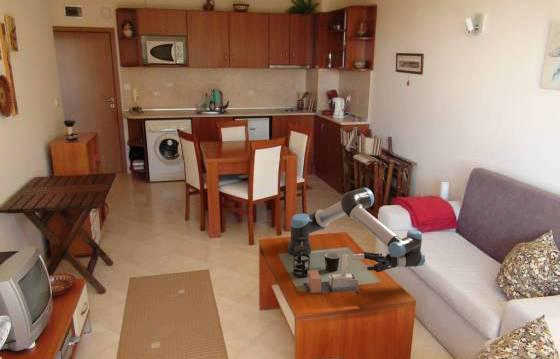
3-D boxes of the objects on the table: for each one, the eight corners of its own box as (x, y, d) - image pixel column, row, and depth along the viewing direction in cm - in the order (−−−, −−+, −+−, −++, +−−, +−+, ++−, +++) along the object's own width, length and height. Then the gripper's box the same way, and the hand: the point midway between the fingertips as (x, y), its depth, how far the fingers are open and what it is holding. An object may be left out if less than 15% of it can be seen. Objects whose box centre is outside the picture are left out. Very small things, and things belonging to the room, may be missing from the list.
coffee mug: (338, 275, 251) (339, 259, 248) (323, 274, 252) (323, 257, 250) (340, 267, 262) (340, 251, 259) (325, 265, 263) (325, 249, 261)
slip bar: (328, 281, 236) (329, 253, 232) (350, 280, 238) (351, 252, 234) (330, 285, 232) (331, 256, 228) (352, 284, 234) (353, 255, 230)
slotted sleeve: (303, 285, 239) (303, 274, 237) (352, 282, 243) (352, 271, 241) (307, 296, 227) (308, 285, 226) (359, 293, 231) (359, 281, 230)
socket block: (307, 283, 238) (307, 270, 236) (316, 283, 238) (316, 269, 237) (311, 292, 228) (311, 279, 226) (320, 292, 229) (321, 278, 227)
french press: (311, 280, 245) (313, 241, 239) (295, 282, 243) (295, 242, 237) (306, 271, 256) (307, 233, 250) (290, 272, 254) (290, 234, 249)
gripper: (404, 277, 225) (364, 280, 222) (385, 257, 249) (348, 259, 246) (405, 263, 223) (364, 266, 220) (386, 244, 247) (349, 246, 244)
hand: (356, 262), depth 233 cm, fingers open, 13 cm apart
